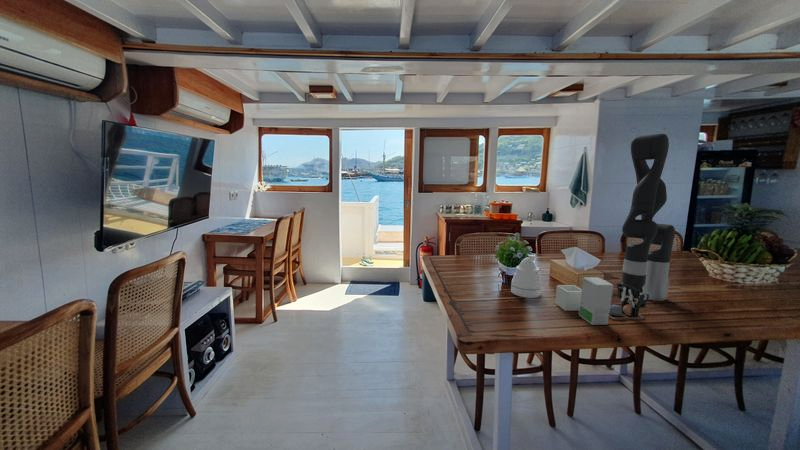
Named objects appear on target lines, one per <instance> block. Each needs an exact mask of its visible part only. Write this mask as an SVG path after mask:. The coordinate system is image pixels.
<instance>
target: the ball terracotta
mask: <svg viewBox="0 0 800 450" xmlns="http://www.w3.org/2000/svg"><path fill="white" fill-rule="evenodd" d="M631 310H632V303H629V304H627V305H625V306H624V307H623V311H624V313H623V314H624V315H625V316H627V317H632V316H631Z"/></svg>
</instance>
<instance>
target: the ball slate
mask: <svg viewBox="0 0 800 450" xmlns="http://www.w3.org/2000/svg"><path fill="white" fill-rule="evenodd" d="M621 313H622V308H621V306H620V305H618V304H611V305H610V312H609V315H610V316H612V317H620V316H621ZM622 314H623V313H622Z"/></svg>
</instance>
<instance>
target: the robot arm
mask: <svg viewBox="0 0 800 450" xmlns="http://www.w3.org/2000/svg"><path fill="white" fill-rule="evenodd" d="M669 147H670V141H669V137H668V135H667V134H666V133H655V134H647V135H640V136H635V137H633V139H632V140H631V142H630V154H631V159H632V165H633V168H634V171H635V178H636V186H635V188H634V190H633V194H632V199H631V206H630V210H629V212H628V215H627V218H626V219H625V220H624V223H623V224H622V227H621V231H622V234H623V236H624V237H626V238H633V239H641V240H643V241H642V242H639V243H637V242H636V243H628V244H627V245H626V247H625V253H624V260H623V264H622V271H621V272H622V273H621V282H622V283H621V282H620V283H617V284H616V290H617V291H616V292H617V298H618V299H620V301H621V306H620V307H621V309H622V311H623V307H624V306H625V305H627V304H630V302H631V305H632V310H631V316H630V317H638V314H640V309H645V307H646V305H647V303H648V301H649V300H650V301H654V302H655V301H656V302H661V301H662V302H663V301H665V300H668V295H669V294H668V293H669V287H670V281H671V280H670V278H669V272H670V271H669V269H670V262H671V257H672V252H673V251H672V250H673V245H674V240H675V234H676V228H675V227H674V225H672V224H666V223H665V224H664V223H657V222H656V221H654V220H653V219H654V217H655V215H656V214H657V213H658V212H659V211H660V210H661V209H662V208H663V207H664V206H665V204H666V202H667V199H668V198H667V197H668V196H667V195H668V194H667V186H666V182H664V181H663V179H662V178H661V177H662V173H663V170H664V167H665V164H666V160H667V158H668V152H669V149H670V148H669ZM650 160H653V163H652V166H651V167H650V166H649V165H648V163H647V161H650ZM638 216H640V218H641V219H636V218H638ZM651 245H655V246H656V245H657V246H660V248H659V249H655V250H650V248H651Z"/></svg>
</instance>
